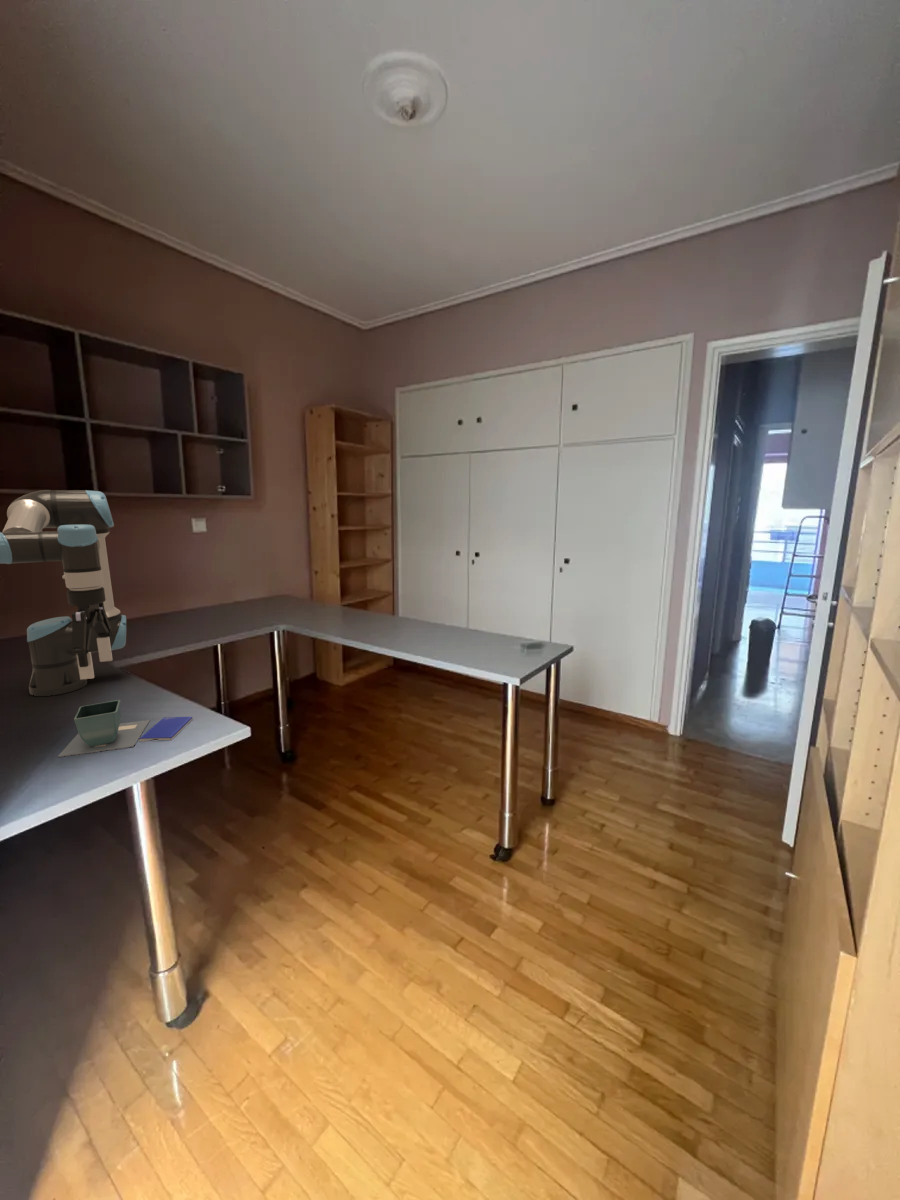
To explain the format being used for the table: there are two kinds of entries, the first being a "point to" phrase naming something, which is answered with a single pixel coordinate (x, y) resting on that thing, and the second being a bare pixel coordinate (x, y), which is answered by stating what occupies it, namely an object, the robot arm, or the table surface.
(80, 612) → the robot arm
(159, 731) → the blue book
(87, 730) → the flower pot
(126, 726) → the letter card
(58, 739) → the table surface
